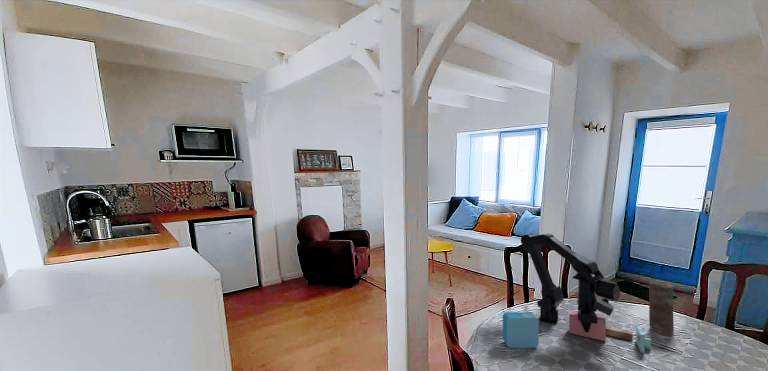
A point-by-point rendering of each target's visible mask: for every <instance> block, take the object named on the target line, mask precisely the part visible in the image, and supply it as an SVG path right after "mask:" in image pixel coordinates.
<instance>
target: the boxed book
mask: <svg viewBox="0 0 768 371" xmlns="http://www.w3.org/2000/svg"><path fill="white" fill-rule="evenodd" d="M568 312H569V313H568V314H569V316H568V319H569V320H568V321H569V323H568V324H569V325H568V326H569V327H568V328H569V329H568V331H569V332H568V333H569V334H572V335H576V336H581V337H585V338H590V339H595V340H598V341H603V342H606V336H607V335H606V327H607V326H606V325H607V322H606V321H607V320H606V317H605V316H603V315H597V314H596V315H597V318H598V324H594V323H591V326H590V329H589V332H588V333H587V332H585V331H584V328H583V326H582V324H581V322H580V320H578V311H576V310H572V309H569V310H568Z"/></svg>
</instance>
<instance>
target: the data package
mask: <svg viewBox="0 0 768 371" xmlns="http://www.w3.org/2000/svg"><path fill="white" fill-rule="evenodd" d="M539 321H540V320H539V319H538V318H537V317H536V316H535V315H534V313H533V312H531V311H521V312H518V311H517V312H516V311H515V312H514V311H512V312H511V311H509V312H504V313H503V314H502V340H503V341H504V342H505V344H506V346H507V347H508V348H509V349H536V348H538V347H539V342H540V341H539V339H540V338H539V334H540V333H539V330H540V329H539V326H540V325H539V324H540V322H539Z"/></svg>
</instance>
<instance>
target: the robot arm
mask: <svg viewBox="0 0 768 371" xmlns="http://www.w3.org/2000/svg"><path fill="white" fill-rule="evenodd" d="M520 243H521V246H522V247H523V248H524V250H525V251H526V252H527V253H528V254H529V255H530V258H531V261H532V263H533V266H534V269H535V271H536V273H537V277H538V280H539V282H540V284H541V290H540V291H541V292H540V293H541V299H539V300H538V301H536V303H537V306H538V308H540V309H539V310H540V314H539V315H540V317H539V321H540V322H545V323H549V324H554V325H557V324H558V321H559V310H558V308H557V307H559V305H560V304H561V303H563V302H564V296H565V294H564V293H563V290H562V287H561V286H560V285H558V286H557V285H556V284H555V283H554V282H553V279H552V276H551V274H550V271H549V269H548V265H547V263H546V261H545V259H544V256H543V253H542V244H545V245H547V246H548V247H549V248H551V249H552V250H553V251H554V252H555V253H557V254H558V255H559V256H560V257H562V258H564V260H566V261H567V262H568V263H569V264H570V266H571V268H572V269H573V270H574V271H575V272H576V274H575V275H574V276H572V279H574V280H577V281H578V282H577V283H578V285H577V286H578V290H577V291H578V292H577V295H578V296H577V298H576V301H577V302H576V304H577V310H578V311H577V312H578V320H580V322H581V324H582V326H583V328H584V331H585V332H587V333H588V332H589V329H590V326H591V323H594V324H598V318H597V313H596V312H597V311H599V312H601V313H603V314H605V315H606V316H608V317H611V315H612V313H613V311H614V306H613V305H612V303H610V302H609V300H611V301H614V302H617V301H618V300H619V299H620V296H621V290H620V286H618V282H615V281H611V280H607V279H605V276H604V275H603V273H602V272H601V271H600V269H599V267H598V266H599V265H598V264H597V263H596V262H595V261H593V260H592V259H590V258H588V257H587V256H584V255H580V254H579V253H577V252H575V251H574V250H573V249H571V248H570V247H569V246H567V245H565V244H564V243H563V242H562V241H561V240H559V239H558V238H557V237H555V236H554V234H552V233H545V234H544V233H543V234H542V233H541V234H537V233H534V232H531V233H528V234H523V235H521V238H520ZM593 275H594V276H593ZM597 296H598V297H600V298H598V297H597Z"/></svg>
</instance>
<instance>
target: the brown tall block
mask: <svg viewBox="0 0 768 371" xmlns="http://www.w3.org/2000/svg"><path fill="white" fill-rule="evenodd" d="M648 289H649V290H648V292H649V293H648V294H649V296H648V298H649V299H648V302H649V303H648V304H649V305H648V308H649V309H648V310H649V311H648V313H649V314H648V319H649V320H648V322H649V327H650V328H651V329H652V330H653V331H654V332H657V333H659V334H660V335H663V336H673V335H674V333H675V332H674V321H675V320H674V288H673V285H672V284H670V283H662V282H661V283H660V282H657V281H650V282H648Z"/></svg>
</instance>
